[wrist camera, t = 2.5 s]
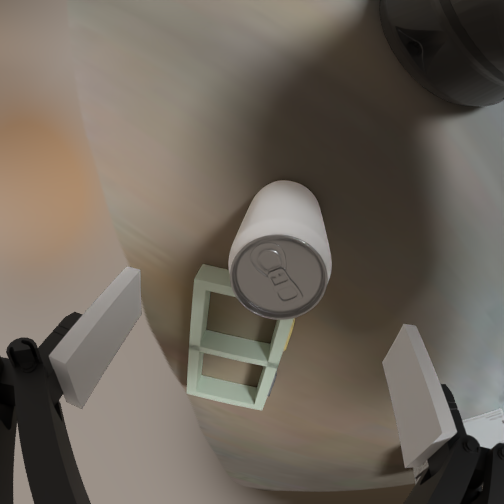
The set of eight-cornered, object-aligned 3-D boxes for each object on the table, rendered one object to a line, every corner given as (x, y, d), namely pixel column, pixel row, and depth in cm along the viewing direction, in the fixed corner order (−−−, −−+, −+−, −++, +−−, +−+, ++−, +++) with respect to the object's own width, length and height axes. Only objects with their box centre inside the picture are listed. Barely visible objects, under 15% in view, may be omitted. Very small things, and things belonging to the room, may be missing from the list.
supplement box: (501, 405, 38) (517, 442, 30) (479, 440, 43) (489, 474, 35) (426, 427, 41) (436, 471, 33) (410, 459, 47) (416, 497, 38)
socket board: (301, 285, 32) (302, 302, 29) (266, 393, 40) (264, 410, 37) (202, 263, 32) (194, 278, 29) (192, 377, 40) (186, 393, 37)
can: (301, 166, 27) (305, 207, 16) (331, 229, 29) (351, 303, 18) (237, 198, 29) (201, 256, 18) (270, 256, 31) (255, 337, 20)
